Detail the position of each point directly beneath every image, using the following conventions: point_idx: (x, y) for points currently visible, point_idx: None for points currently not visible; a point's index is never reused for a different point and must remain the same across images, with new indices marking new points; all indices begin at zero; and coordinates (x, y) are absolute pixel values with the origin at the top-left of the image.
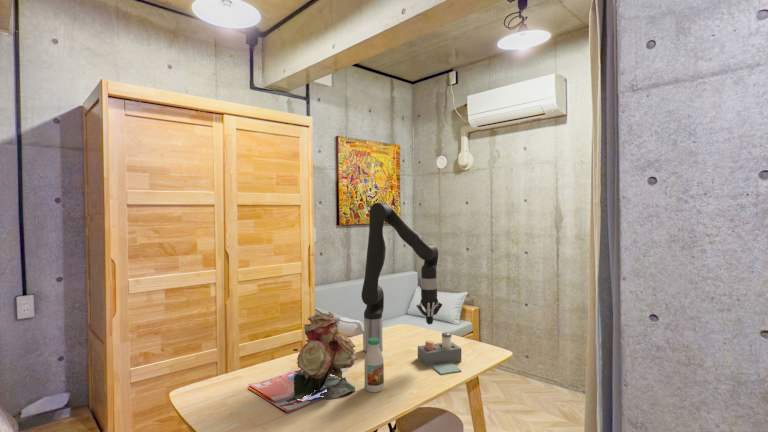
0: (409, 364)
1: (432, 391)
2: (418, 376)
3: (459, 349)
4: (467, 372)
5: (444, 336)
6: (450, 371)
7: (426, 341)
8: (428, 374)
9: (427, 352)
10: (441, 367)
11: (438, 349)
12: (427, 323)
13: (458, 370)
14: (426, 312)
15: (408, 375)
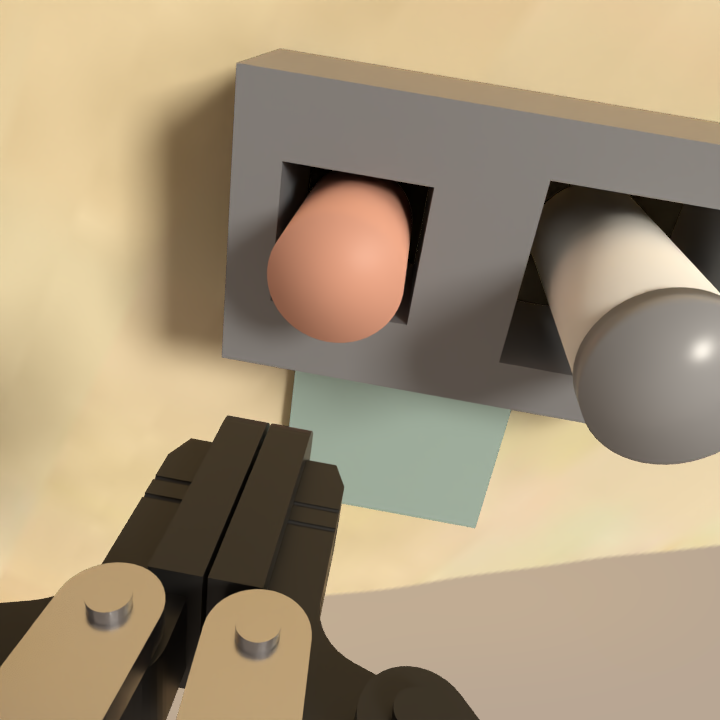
0: (116, 161)
1: None
2: (99, 420)
3: None
4: (506, 550)
5: (579, 405)
6: (376, 503)
7: (307, 227)
8: (193, 431)
9: (247, 343)
10: (357, 411)
11: (431, 335)
12: (231, 420)
13: (449, 521)
14: (38, 706)
15: (25, 367)
